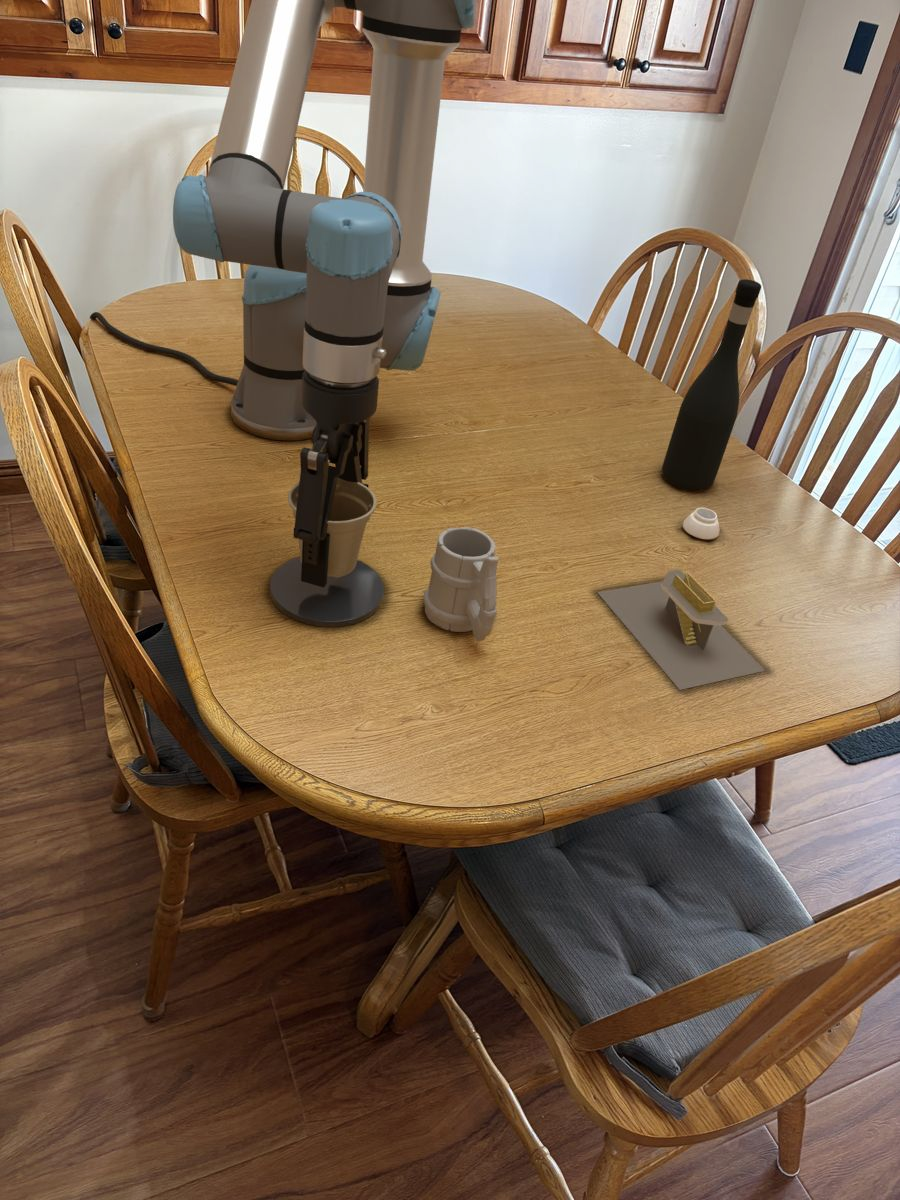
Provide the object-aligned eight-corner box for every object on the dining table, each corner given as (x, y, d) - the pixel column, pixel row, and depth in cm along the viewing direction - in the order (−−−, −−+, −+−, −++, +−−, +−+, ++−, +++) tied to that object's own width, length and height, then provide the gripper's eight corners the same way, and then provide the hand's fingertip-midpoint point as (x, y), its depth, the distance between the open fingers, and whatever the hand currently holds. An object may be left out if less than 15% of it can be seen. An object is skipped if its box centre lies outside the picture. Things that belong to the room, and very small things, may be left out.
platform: (679, 689, 102) (697, 644, 99) (596, 592, 115) (609, 548, 111) (765, 670, 107) (785, 626, 103) (676, 578, 120) (691, 536, 116)
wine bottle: (656, 463, 144) (715, 268, 126) (707, 470, 145) (772, 276, 127) (664, 490, 138) (727, 288, 120) (717, 497, 138) (787, 297, 120)
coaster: (250, 607, 104) (250, 602, 104) (297, 547, 114) (297, 542, 114) (360, 639, 102) (361, 634, 102) (398, 576, 112) (399, 570, 112)
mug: (471, 588, 112) (486, 503, 105) (514, 651, 104) (534, 563, 97) (412, 597, 109) (423, 510, 102) (451, 663, 101) (467, 573, 94)
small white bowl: (679, 534, 128) (715, 545, 127) (685, 516, 127) (722, 527, 126) (684, 517, 132) (719, 528, 131) (690, 500, 130) (726, 510, 129)
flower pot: (357, 596, 102) (363, 529, 96) (273, 577, 102) (275, 510, 97) (379, 550, 109) (386, 486, 104) (302, 533, 110) (304, 468, 105)
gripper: (337, 424, 83) (324, 623, 97) (410, 344, 100) (390, 524, 113) (259, 404, 84) (257, 604, 98) (344, 329, 101) (332, 508, 114)
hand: (329, 561), depth 106 cm, fingers closed on flower pot, 8 cm apart
